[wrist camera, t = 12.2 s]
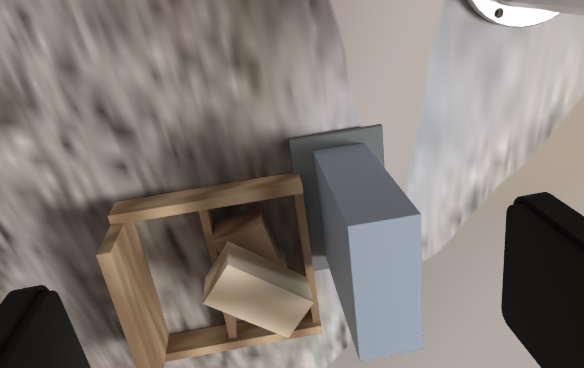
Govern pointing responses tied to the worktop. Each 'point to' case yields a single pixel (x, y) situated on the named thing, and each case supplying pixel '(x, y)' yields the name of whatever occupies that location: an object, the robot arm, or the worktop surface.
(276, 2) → the worktop surface
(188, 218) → the worktop surface
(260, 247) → the offcut lower
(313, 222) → the mat
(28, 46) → the worktop surface
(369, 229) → the grey-blue rectangular brick
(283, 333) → the offcut upper
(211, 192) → the rack
